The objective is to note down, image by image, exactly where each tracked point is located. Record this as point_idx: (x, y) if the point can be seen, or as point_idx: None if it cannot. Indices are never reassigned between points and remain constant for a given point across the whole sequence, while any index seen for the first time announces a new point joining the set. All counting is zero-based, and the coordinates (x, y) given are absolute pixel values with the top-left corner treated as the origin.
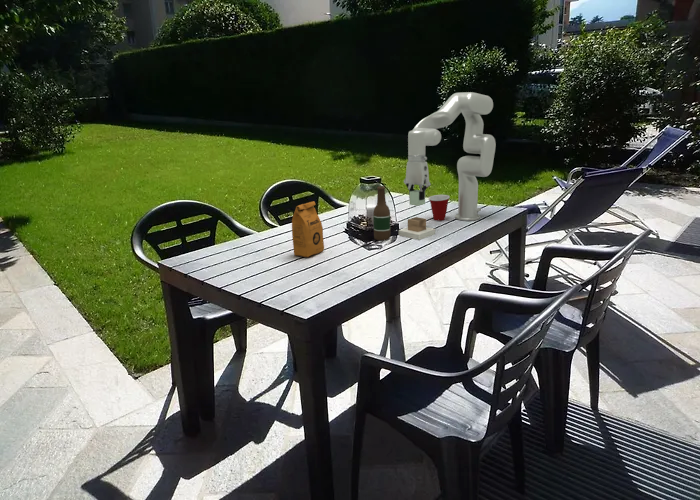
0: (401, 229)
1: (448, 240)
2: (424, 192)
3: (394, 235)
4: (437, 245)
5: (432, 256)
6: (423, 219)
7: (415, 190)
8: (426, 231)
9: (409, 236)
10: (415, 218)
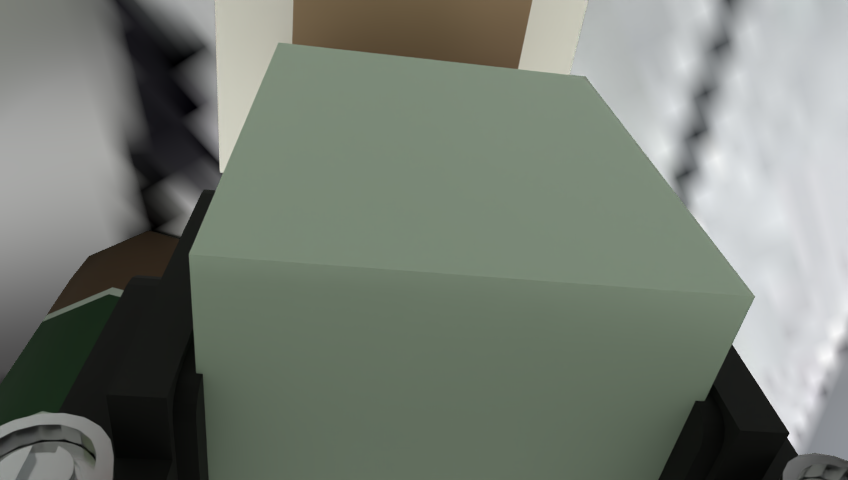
0: (219, 122)
1: (840, 22)
2: (784, 453)
3: (189, 161)
4: (763, 226)
5: (792, 437)
6: (513, 40)
7: (268, 393)
8: (559, 41)
9: None
10: (354, 48)
